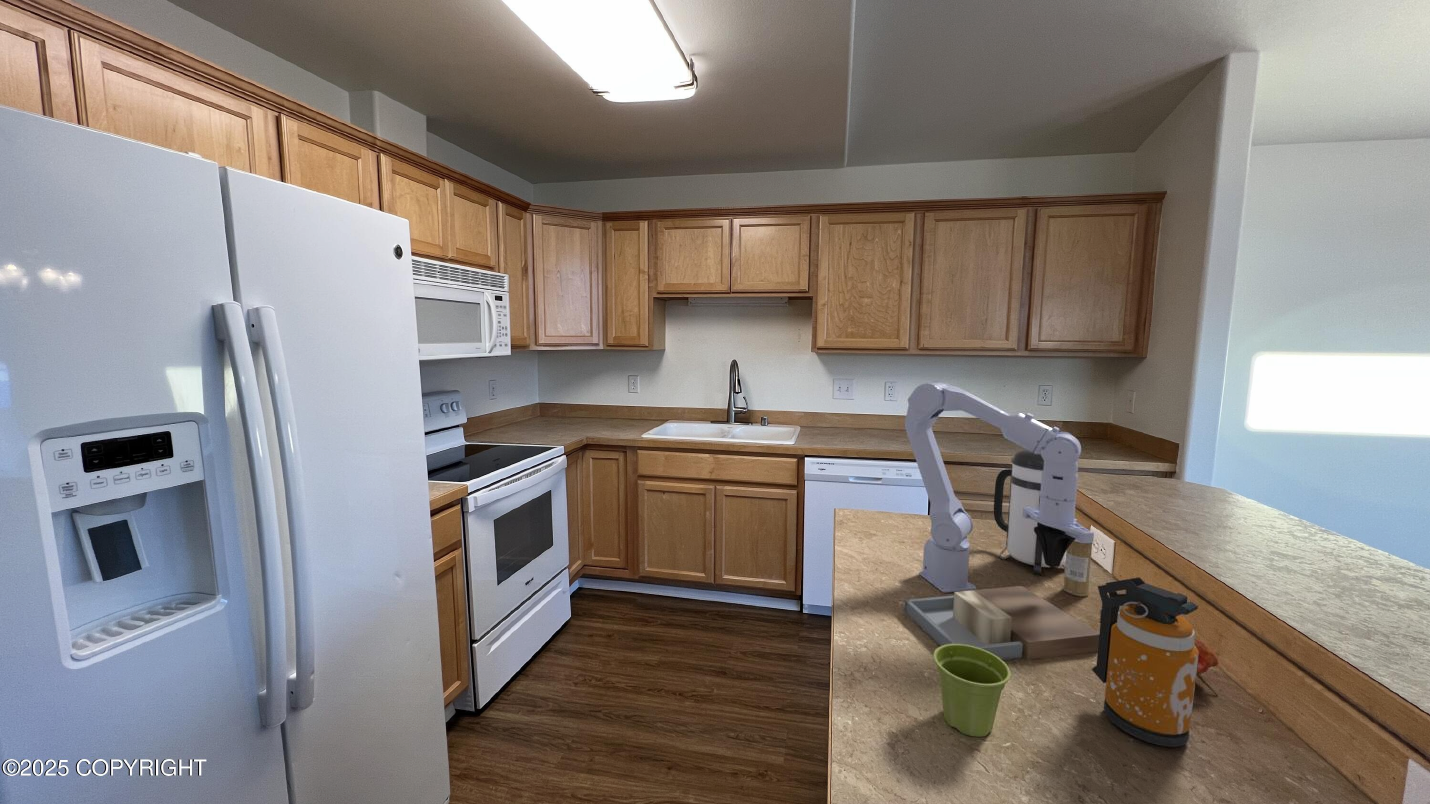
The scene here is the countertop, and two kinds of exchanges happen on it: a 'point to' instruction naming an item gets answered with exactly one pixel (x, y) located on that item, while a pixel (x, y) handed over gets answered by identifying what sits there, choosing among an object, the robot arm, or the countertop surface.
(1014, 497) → the coffee press
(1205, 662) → the pomegranate
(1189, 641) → the canister
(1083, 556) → the sprinkles bottle
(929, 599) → the box
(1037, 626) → the walnut plate
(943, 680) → the plant pot
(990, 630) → the cream rectangular box
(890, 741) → the countertop surface
